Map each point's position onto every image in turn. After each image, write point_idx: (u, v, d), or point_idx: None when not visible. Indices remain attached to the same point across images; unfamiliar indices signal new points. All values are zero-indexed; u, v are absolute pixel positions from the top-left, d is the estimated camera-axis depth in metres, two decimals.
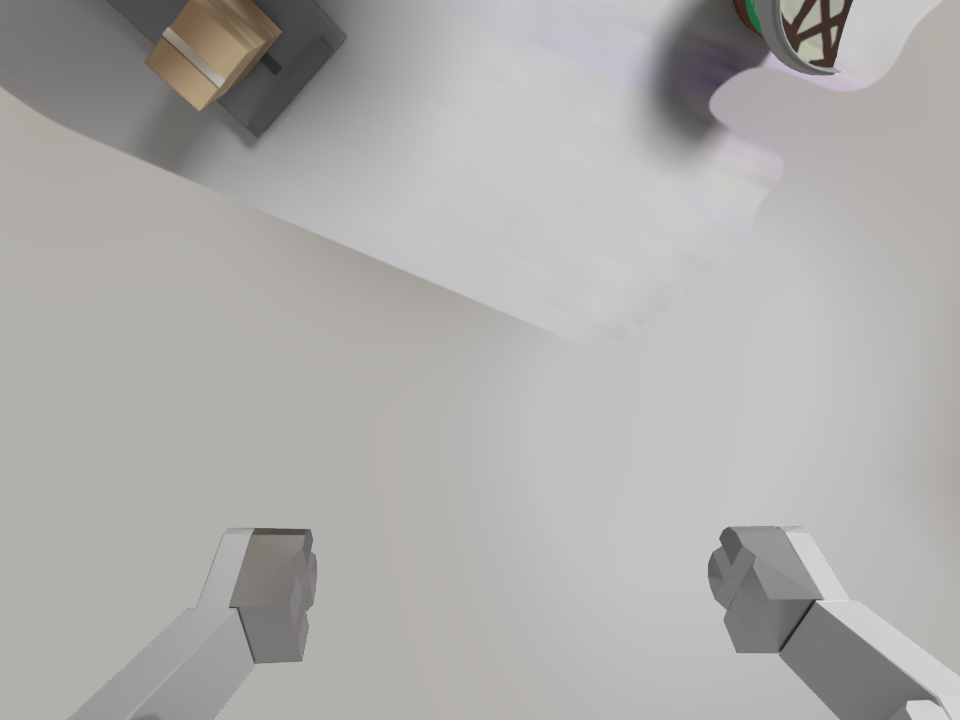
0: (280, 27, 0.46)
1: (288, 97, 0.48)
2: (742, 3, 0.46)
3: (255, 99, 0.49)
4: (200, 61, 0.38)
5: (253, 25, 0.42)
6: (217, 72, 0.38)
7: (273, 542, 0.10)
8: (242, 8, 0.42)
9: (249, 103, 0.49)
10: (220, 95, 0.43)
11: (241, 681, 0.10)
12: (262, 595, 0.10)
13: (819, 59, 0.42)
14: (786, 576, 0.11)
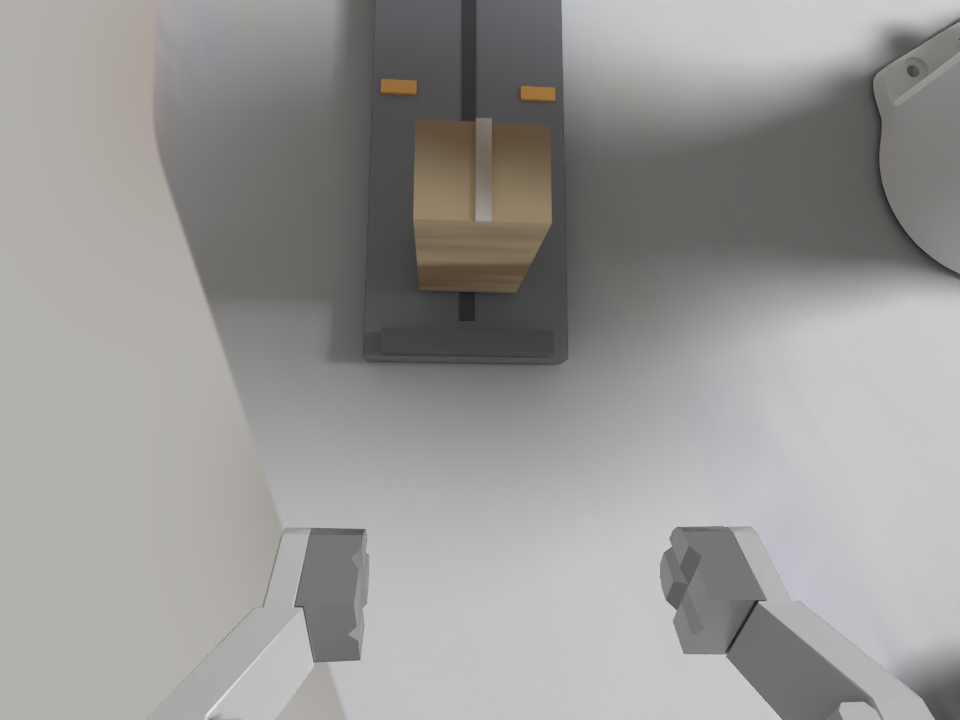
0: None
1: (456, 348, 0.31)
2: None
3: (409, 319, 0.32)
4: (487, 177, 0.22)
5: None
6: (491, 207, 0.22)
7: (332, 542, 0.11)
8: None
9: (397, 317, 0.32)
10: (421, 254, 0.26)
11: (302, 680, 0.10)
12: (326, 594, 0.10)
13: None
14: (730, 576, 0.10)
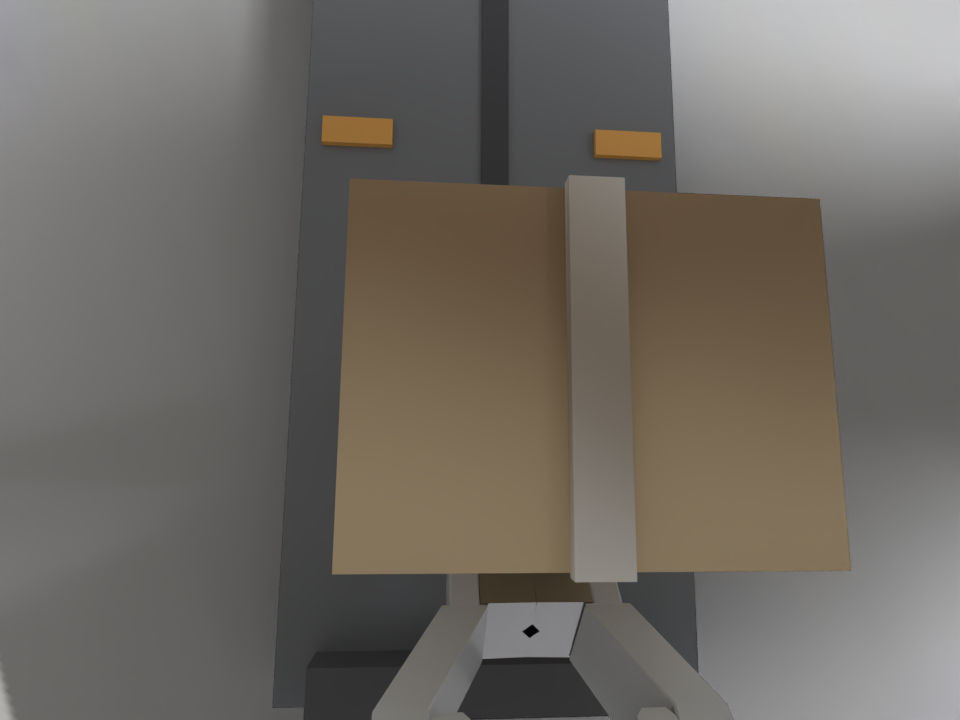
0: None
1: (471, 712, 0.14)
2: None
3: (372, 622, 0.15)
4: (615, 405, 0.06)
5: None
6: (629, 516, 0.06)
7: None
8: None
9: (347, 617, 0.15)
10: None
11: (472, 676, 0.11)
12: (507, 592, 0.10)
13: None
14: (563, 578, 0.10)
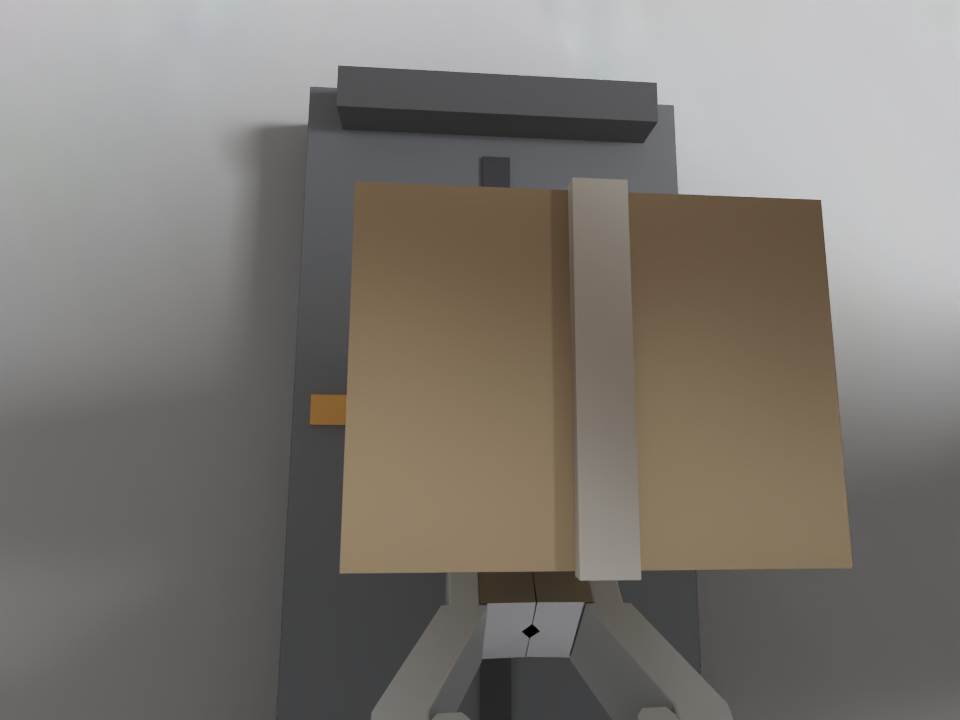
0: None
1: None
2: None
3: None
4: (619, 405, 0.06)
5: None
6: (632, 515, 0.06)
7: None
8: None
9: None
10: None
11: (472, 676, 0.11)
12: (506, 592, 0.10)
13: None
14: (563, 578, 0.10)
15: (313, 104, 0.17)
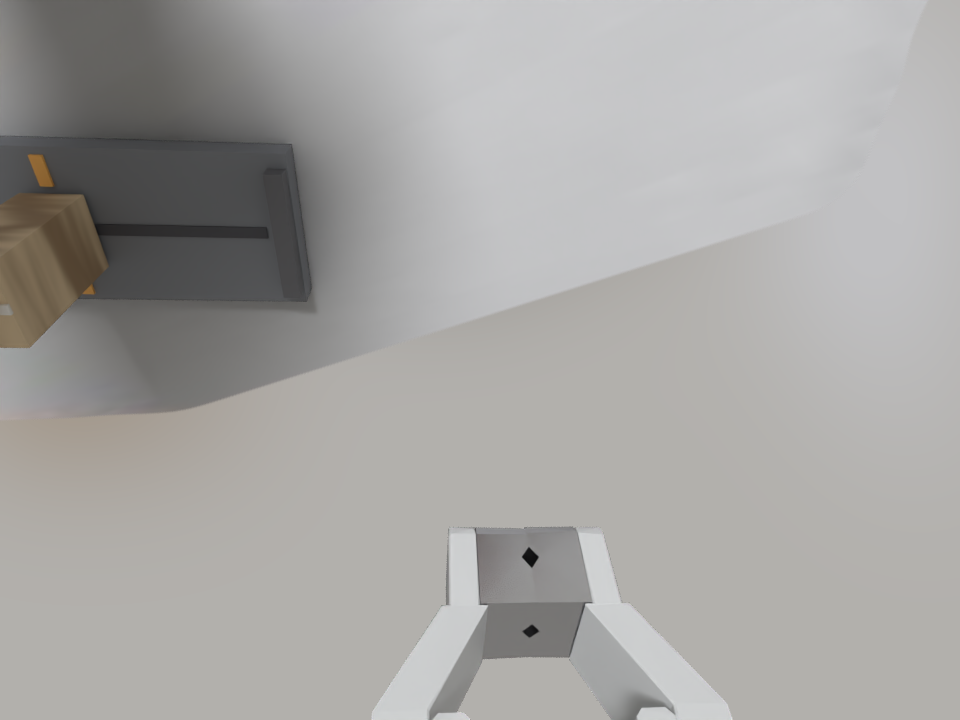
0: (233, 195, 0.40)
1: (290, 248, 0.41)
2: None
3: (274, 272, 0.43)
4: None
5: (24, 221, 0.35)
6: None
7: (499, 541, 0.11)
8: (13, 213, 0.36)
9: (274, 280, 0.44)
10: (64, 307, 0.37)
11: (473, 676, 0.11)
12: (506, 592, 0.10)
13: None
14: (563, 578, 0.10)
15: None
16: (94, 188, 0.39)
